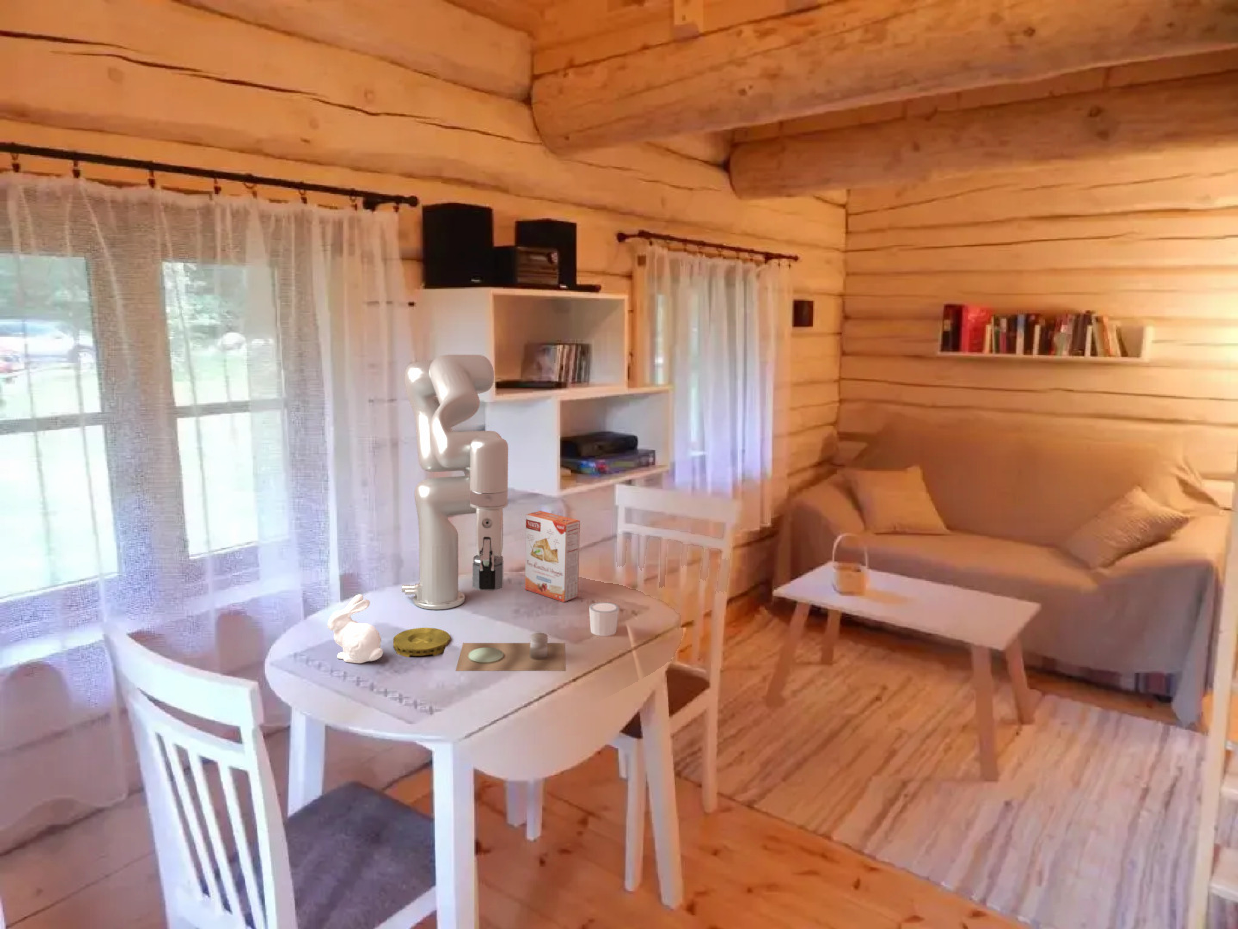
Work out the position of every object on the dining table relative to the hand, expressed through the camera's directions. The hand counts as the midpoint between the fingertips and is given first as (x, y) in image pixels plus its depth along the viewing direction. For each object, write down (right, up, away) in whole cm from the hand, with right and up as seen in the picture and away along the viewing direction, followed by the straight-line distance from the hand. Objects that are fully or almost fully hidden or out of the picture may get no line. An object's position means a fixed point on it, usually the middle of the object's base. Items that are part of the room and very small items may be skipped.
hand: (488, 582), depth 170 cm
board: (+4, -17, +3) cm, 18 cm away
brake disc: (-16, -16, +10) cm, 25 cm away
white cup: (+23, -15, +19) cm, 34 cm away
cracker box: (+9, -10, +45) cm, 47 cm away
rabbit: (-29, -16, +4) cm, 33 cm away
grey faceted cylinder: (0, -1, 0) cm, 1 cm away
